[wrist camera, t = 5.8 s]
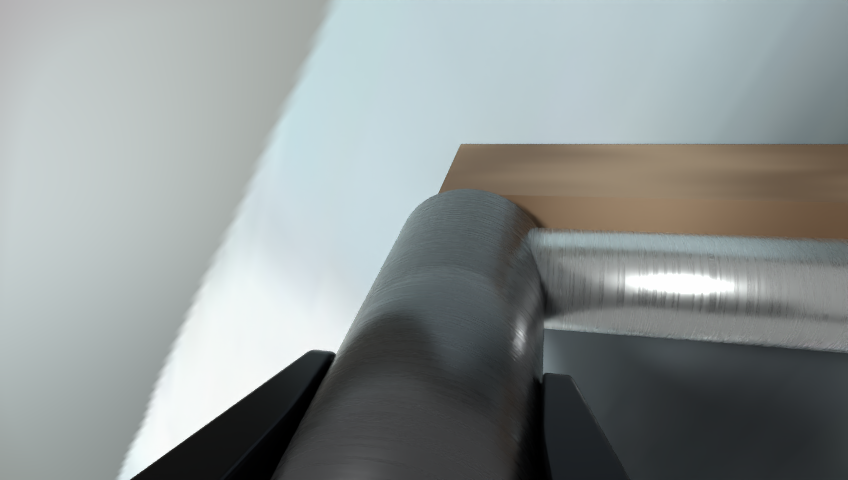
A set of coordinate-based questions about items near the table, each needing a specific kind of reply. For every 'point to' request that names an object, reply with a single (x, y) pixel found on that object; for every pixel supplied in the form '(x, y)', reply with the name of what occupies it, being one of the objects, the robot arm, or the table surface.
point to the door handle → (534, 330)
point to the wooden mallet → (667, 186)
